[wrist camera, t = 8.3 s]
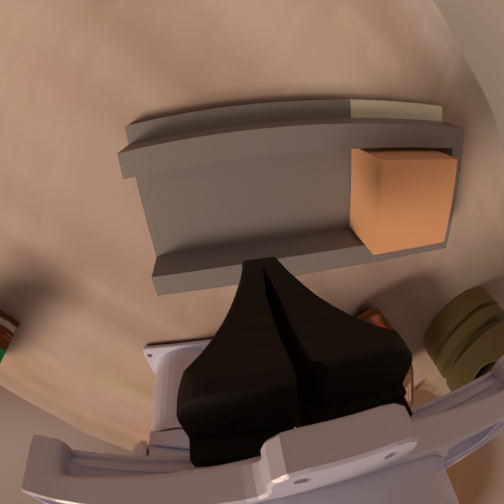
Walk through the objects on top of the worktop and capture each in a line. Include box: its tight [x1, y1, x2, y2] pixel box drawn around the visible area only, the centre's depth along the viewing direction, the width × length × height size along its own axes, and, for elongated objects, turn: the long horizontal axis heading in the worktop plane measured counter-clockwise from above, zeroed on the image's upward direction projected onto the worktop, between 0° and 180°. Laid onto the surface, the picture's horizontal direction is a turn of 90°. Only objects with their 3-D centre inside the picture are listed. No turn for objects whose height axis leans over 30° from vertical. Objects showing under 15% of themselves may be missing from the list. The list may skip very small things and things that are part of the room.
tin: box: [356, 308, 413, 407], centre depth 27 cm, size 15×3×8 cm, turn 24°
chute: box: [117, 99, 463, 295], centre depth 19 cm, size 12×22×4 cm, turn 95°
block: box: [349, 147, 458, 255], centre depth 18 cm, size 6×6×4 cm
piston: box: [424, 287, 504, 392], centre depth 27 cm, size 11×12×11 cm
